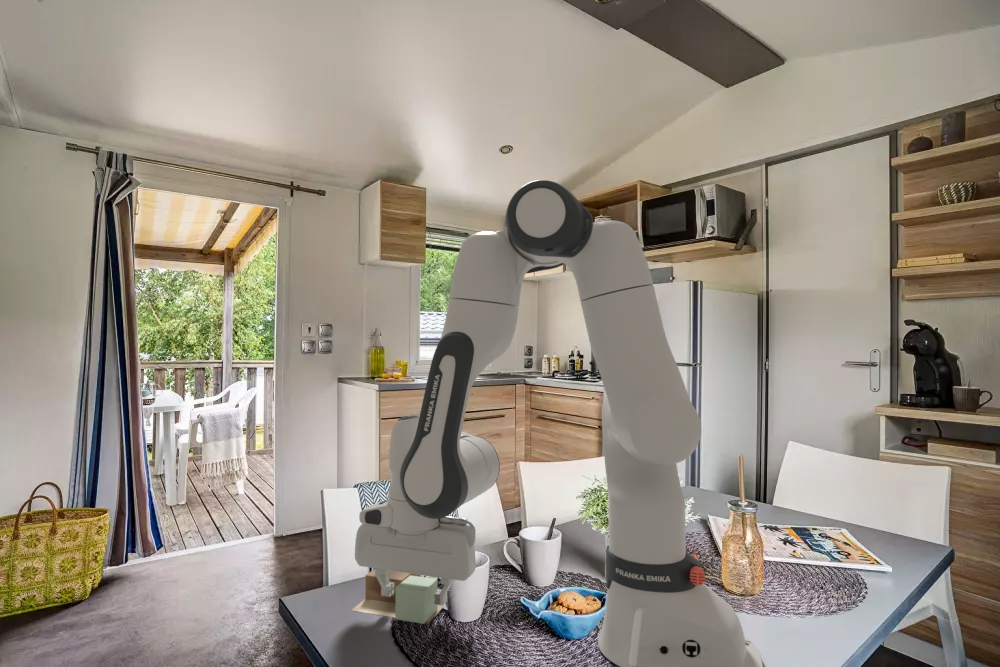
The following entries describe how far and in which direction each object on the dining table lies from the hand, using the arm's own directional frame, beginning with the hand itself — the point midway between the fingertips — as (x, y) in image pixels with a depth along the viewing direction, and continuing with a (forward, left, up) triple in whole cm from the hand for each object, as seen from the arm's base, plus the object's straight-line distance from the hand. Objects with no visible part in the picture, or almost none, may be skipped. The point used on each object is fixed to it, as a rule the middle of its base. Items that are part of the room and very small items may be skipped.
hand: (413, 599), depth 89 cm
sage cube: (0, 0, -3) cm, 3 cm away
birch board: (+4, -4, -4) cm, 7 cm away
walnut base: (+7, -6, -3) cm, 10 cm away
